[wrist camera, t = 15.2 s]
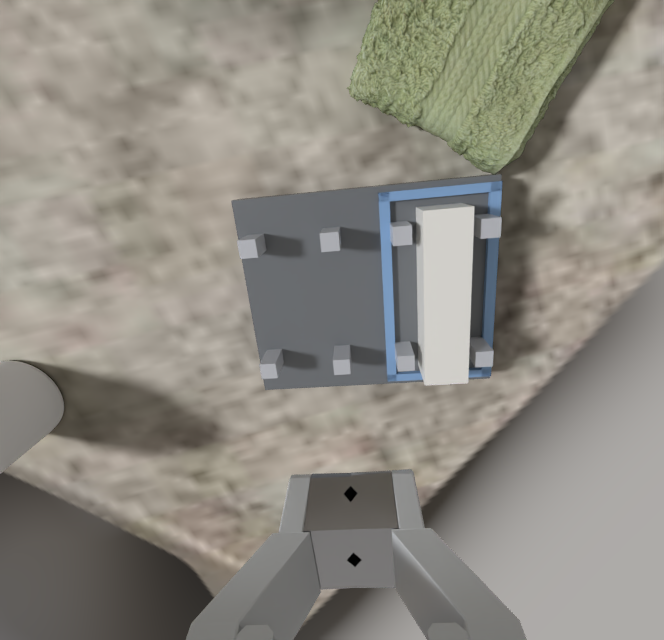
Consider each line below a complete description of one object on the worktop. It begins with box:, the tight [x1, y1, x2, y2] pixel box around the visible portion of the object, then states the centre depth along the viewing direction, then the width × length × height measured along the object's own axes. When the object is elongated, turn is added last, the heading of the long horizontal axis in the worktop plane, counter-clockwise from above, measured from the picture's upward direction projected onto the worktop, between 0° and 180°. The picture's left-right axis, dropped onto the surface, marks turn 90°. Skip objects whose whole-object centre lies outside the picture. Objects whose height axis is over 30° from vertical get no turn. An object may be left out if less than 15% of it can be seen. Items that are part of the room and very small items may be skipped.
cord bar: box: [416, 203, 475, 385], centre depth 26 cm, size 12×3×3 cm, turn 6°
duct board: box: [232, 174, 502, 390], centre depth 28 cm, size 15×18×4 cm
